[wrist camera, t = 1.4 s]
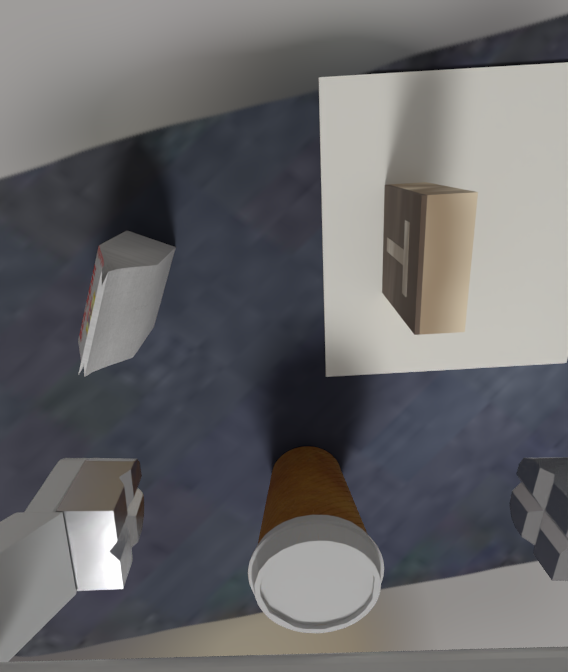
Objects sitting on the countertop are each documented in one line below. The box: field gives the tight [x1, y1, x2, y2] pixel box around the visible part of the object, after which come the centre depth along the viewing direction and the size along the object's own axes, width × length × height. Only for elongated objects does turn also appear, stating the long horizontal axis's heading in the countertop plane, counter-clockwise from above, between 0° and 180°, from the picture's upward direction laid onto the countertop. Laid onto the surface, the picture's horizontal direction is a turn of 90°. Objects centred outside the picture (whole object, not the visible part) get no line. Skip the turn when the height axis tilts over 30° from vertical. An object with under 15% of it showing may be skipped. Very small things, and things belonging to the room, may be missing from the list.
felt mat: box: [319, 62, 568, 377], centre depth 35 cm, size 20×22×1 cm
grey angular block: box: [78, 231, 176, 377], centre depth 31 cm, size 4×7×10 cm, turn 160°
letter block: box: [382, 182, 478, 335], centre depth 30 cm, size 3×8×9 cm, turn 3°
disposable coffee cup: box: [248, 446, 384, 633], centre depth 37 cm, size 10×10×12 cm
